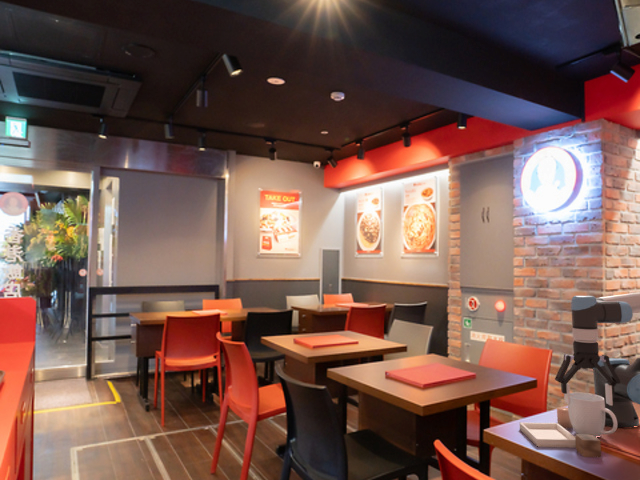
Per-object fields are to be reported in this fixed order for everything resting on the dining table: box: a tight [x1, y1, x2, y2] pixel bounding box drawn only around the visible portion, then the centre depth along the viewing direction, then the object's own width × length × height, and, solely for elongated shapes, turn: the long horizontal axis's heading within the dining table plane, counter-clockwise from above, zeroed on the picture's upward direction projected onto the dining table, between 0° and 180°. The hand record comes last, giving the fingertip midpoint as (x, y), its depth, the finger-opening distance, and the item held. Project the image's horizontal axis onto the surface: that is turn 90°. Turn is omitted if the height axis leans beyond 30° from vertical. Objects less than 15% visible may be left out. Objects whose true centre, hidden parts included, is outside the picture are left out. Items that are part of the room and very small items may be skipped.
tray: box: [519, 422, 576, 449], centre depth 150 cm, size 13×16×2 cm
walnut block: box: [574, 433, 602, 458], centre depth 137 cm, size 5×5×5 cm
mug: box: [567, 391, 618, 437], centre depth 151 cm, size 15×11×13 cm
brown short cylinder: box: [556, 406, 573, 429], centre depth 162 cm, size 5×5×6 cm
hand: (588, 403), depth 152 cm, fingers open, 13 cm apart
